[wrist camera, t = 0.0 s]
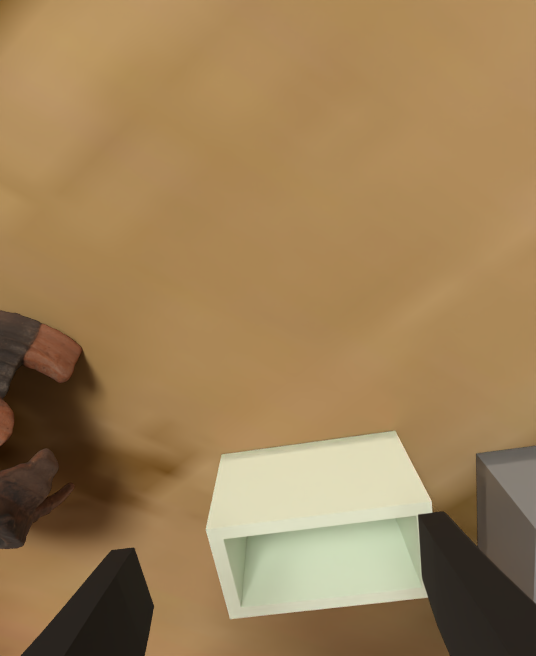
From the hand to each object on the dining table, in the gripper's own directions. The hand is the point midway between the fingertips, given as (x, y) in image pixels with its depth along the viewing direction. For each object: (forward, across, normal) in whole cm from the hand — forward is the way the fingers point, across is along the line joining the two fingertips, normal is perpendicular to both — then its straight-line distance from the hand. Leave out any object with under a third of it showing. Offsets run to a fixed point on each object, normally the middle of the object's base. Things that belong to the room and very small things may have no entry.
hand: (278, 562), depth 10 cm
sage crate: (+10, -1, +6) cm, 12 cm away
